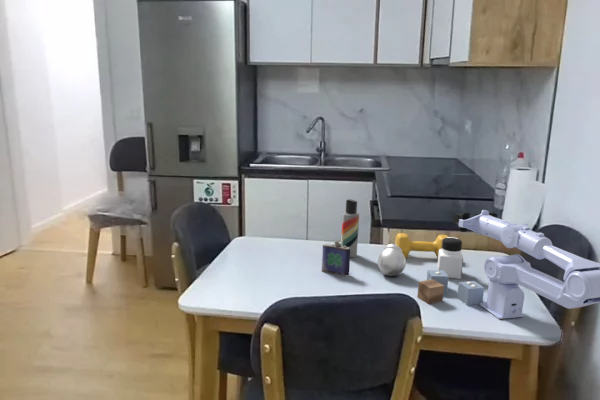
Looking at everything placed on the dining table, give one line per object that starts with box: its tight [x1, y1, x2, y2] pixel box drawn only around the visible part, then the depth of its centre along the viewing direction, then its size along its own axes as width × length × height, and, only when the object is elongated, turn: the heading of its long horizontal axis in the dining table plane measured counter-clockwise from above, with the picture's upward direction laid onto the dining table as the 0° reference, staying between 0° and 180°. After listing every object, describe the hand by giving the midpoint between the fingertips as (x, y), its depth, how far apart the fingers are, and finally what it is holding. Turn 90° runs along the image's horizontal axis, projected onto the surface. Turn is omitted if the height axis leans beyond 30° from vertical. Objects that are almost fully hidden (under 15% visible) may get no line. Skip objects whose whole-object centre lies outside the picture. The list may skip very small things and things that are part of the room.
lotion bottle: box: [340, 198, 360, 259], centre depth 187 cm, size 6×6×20 cm
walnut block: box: [417, 279, 445, 305], centre depth 154 cm, size 5×5×5 cm
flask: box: [321, 239, 351, 277], centre depth 171 cm, size 9×3×11 cm, turn 65°
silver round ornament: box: [377, 243, 407, 277], centre depth 171 cm, size 9×10×10 cm
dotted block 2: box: [456, 280, 485, 306], centre depth 154 cm, size 5×5×5 cm
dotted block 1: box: [426, 269, 449, 293], centre depth 162 cm, size 5×5×5 cm
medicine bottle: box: [436, 236, 464, 280], centre depth 173 cm, size 7×7×12 cm
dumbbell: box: [394, 232, 449, 259], centre depth 189 cm, size 19×9×8 cm, turn 88°
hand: (464, 217), depth 162 cm, fingers open, 7 cm apart
